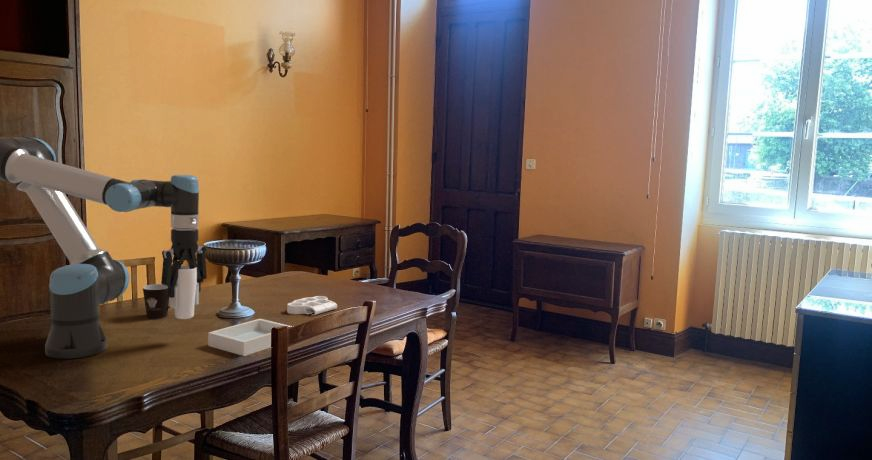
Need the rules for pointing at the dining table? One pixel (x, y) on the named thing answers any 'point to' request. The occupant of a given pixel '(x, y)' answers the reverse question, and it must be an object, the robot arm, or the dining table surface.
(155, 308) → the coffee mug
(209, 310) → the dining table surface
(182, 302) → the drinking glass
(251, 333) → the white shallow tray
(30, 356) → the dining table surface
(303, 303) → the white flat molded slab
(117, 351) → the dining table surface
